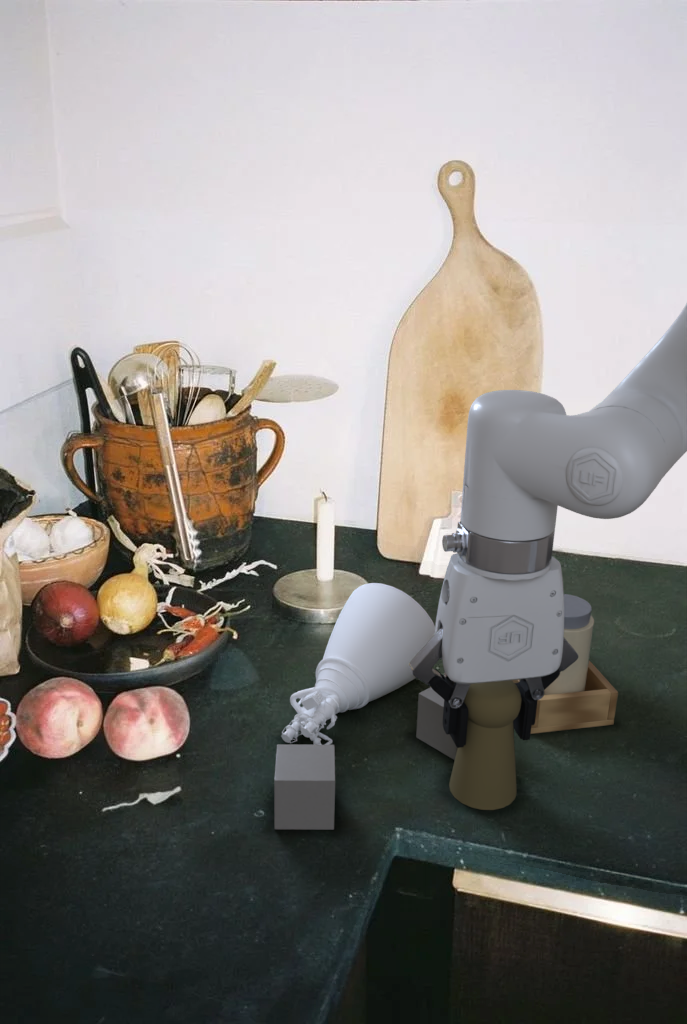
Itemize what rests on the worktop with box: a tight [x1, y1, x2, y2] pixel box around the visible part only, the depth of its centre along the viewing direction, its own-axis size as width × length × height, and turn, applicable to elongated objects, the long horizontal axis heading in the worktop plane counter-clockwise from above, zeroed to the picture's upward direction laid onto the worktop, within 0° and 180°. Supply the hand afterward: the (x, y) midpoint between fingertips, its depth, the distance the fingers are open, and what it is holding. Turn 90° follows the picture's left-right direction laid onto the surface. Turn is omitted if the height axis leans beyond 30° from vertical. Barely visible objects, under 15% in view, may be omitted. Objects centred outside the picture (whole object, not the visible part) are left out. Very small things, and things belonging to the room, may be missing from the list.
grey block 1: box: [273, 743, 336, 831], centre depth 80 cm, size 5×5×5 cm
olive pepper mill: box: [448, 680, 522, 811], centre depth 82 cm, size 6×6×11 cm
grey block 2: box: [415, 686, 458, 761], centre depth 90 cm, size 5×5×5 cm
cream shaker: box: [544, 593, 595, 695], centre depth 95 cm, size 6×6×11 cm
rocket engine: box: [280, 582, 436, 745], centre depth 94 cm, size 12×12×18 cm
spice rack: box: [511, 659, 619, 735], centre depth 104 cm, size 9×26×4 cm, turn 12°
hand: (487, 733), depth 82 cm, fingers closed on olive pepper mill, 5 cm apart
